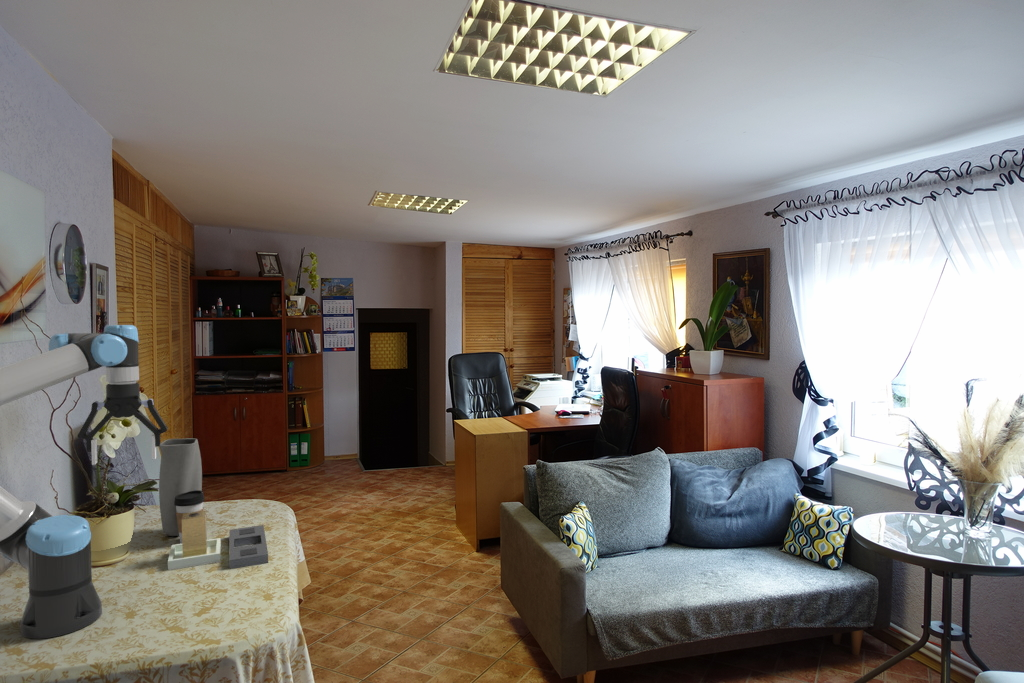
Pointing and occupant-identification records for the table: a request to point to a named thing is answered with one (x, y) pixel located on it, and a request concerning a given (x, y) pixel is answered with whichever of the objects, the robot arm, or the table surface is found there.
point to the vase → (177, 477)
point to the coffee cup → (188, 506)
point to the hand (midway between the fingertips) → (124, 461)
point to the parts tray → (179, 562)
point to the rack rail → (247, 547)
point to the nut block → (194, 534)
